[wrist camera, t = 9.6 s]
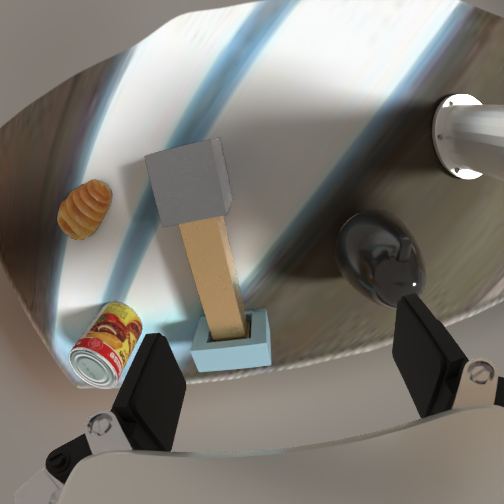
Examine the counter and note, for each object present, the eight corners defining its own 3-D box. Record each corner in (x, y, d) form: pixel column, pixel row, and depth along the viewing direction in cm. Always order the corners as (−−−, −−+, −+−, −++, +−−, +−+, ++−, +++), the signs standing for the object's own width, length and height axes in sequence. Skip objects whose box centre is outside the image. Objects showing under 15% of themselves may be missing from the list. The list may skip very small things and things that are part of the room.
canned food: (136, 346, 48) (113, 396, 37) (97, 326, 47) (67, 372, 36) (147, 315, 45) (121, 366, 34) (105, 293, 44) (69, 338, 33)
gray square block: (219, 137, 35) (210, 139, 28) (232, 199, 38) (227, 215, 31) (164, 150, 35) (144, 155, 29) (178, 210, 38) (162, 227, 32)
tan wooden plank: (219, 187, 36) (213, 196, 31) (251, 325, 44) (250, 347, 39) (181, 195, 36) (170, 205, 32) (218, 329, 44) (214, 351, 40)
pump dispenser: (394, 195, 37) (457, 233, 23) (396, 264, 41) (446, 324, 27) (323, 206, 38) (359, 253, 24) (331, 277, 42) (361, 347, 28)
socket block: (265, 307, 44) (266, 342, 36) (269, 329, 45) (271, 364, 38) (200, 316, 45) (190, 350, 37) (206, 336, 46) (198, 372, 39)
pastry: (95, 166, 36) (81, 170, 33) (124, 201, 38) (112, 209, 35) (61, 208, 39) (47, 216, 35) (87, 241, 41) (75, 251, 37)
